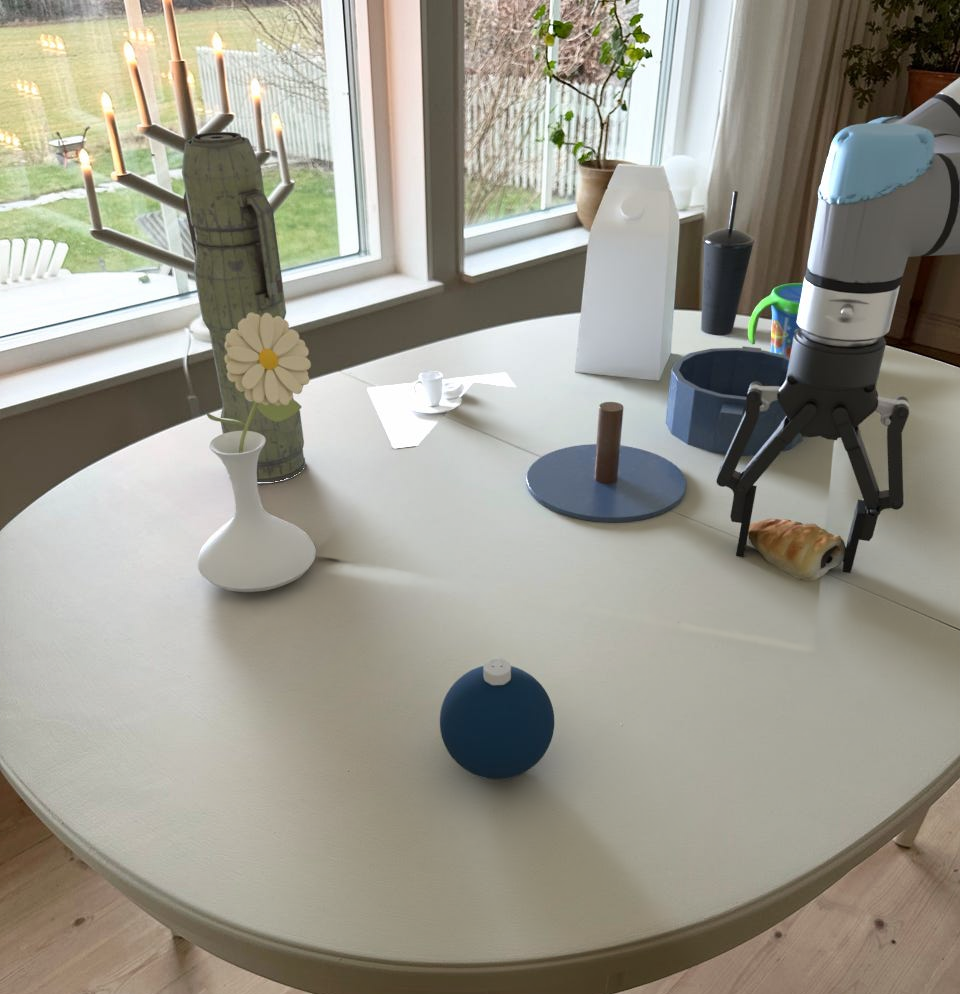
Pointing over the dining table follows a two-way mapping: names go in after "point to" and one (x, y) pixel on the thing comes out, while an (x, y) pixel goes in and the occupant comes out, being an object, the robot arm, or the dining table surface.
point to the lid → (606, 477)
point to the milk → (630, 277)
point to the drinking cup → (724, 275)
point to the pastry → (797, 547)
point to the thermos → (237, 276)
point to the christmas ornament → (497, 721)
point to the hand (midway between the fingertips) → (793, 557)
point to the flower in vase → (252, 531)
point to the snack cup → (779, 317)
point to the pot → (723, 397)
